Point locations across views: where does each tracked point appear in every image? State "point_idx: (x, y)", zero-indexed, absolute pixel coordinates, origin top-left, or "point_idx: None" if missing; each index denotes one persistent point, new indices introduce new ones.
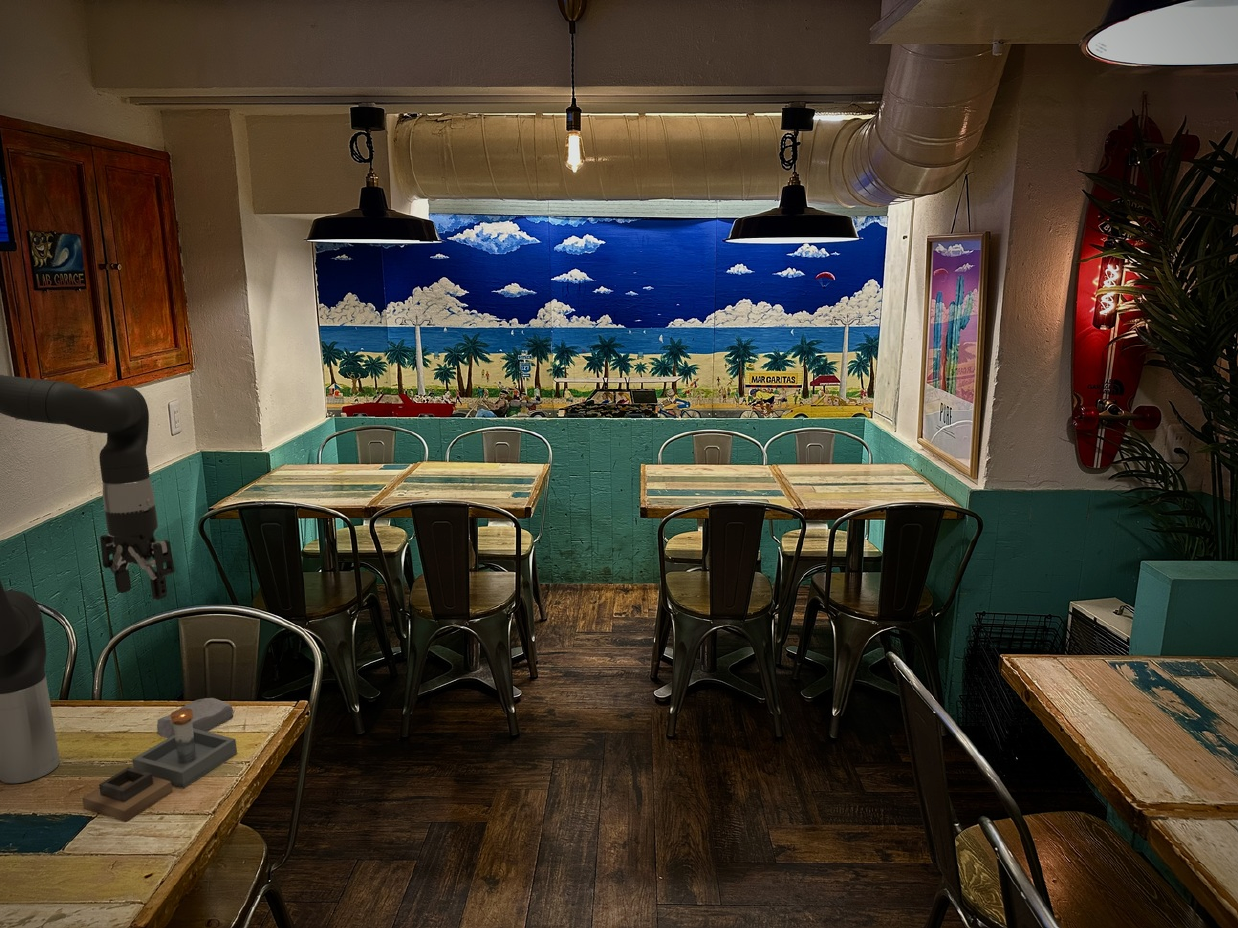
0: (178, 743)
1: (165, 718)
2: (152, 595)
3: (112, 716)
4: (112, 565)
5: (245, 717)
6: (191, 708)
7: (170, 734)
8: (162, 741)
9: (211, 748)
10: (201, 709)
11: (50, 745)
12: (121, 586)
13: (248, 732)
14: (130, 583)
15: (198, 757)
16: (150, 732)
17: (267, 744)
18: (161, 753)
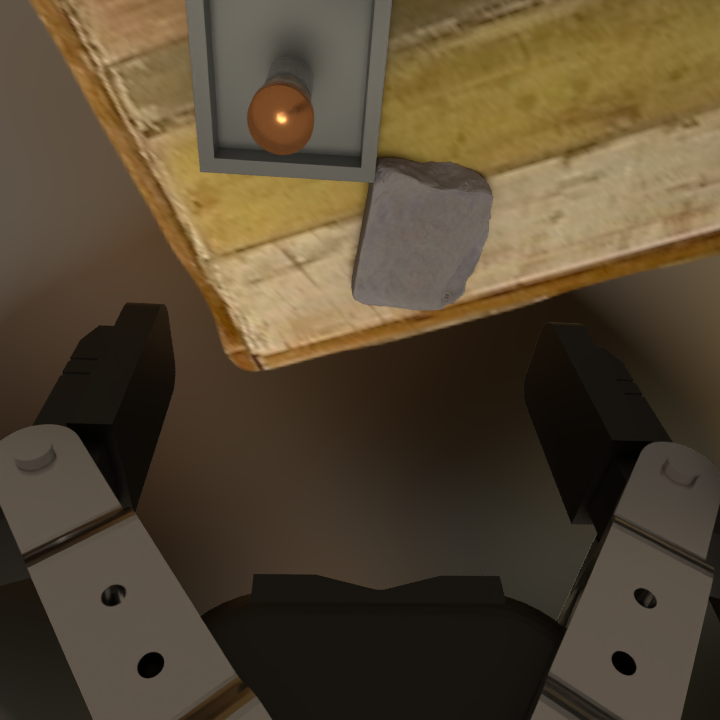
0: (284, 68)
1: (463, 197)
2: (155, 318)
3: (653, 202)
4: (709, 511)
5: (323, 291)
6: (436, 258)
7: (429, 167)
8: (382, 97)
9: None
10: (405, 261)
11: None
12: (558, 365)
13: (262, 242)
14: (534, 426)
15: None
16: (501, 170)
17: (173, 213)
18: (367, 69)
